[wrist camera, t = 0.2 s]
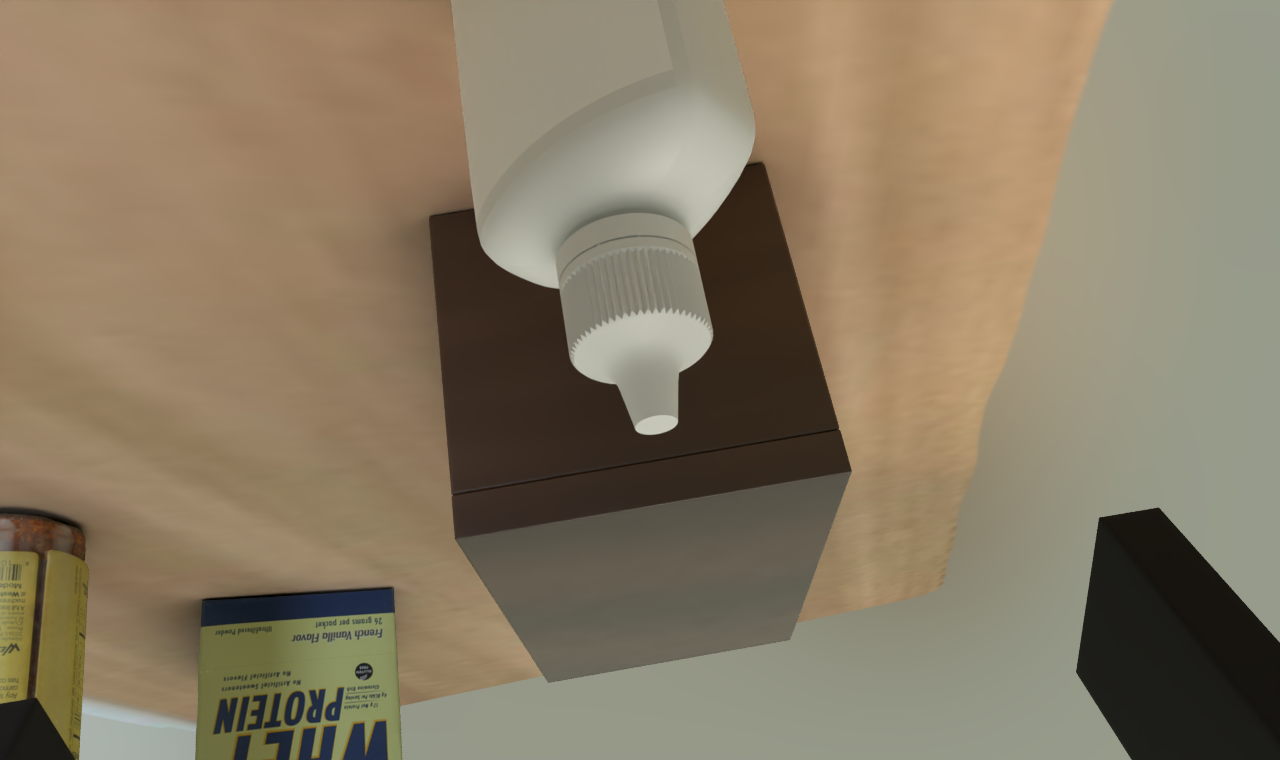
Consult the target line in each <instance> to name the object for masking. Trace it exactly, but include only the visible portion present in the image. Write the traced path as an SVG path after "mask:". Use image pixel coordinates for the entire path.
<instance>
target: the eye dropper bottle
mask: <svg viewBox="0 0 1280 760" xmlns="http://www.w3.org/2000/svg"><path fill="white" fill-rule="evenodd" d="M451 8H452V17H453V27H454V36H455V46H456V55H457V64H458V74H459V83H460V92H461V102H462V110H463V119H464V128H465V137H466V146H467V155H468V164H469V173H470V181H471V190H472V197H473V204H474V211H475V218H476V225H477V232H478V236H479V240H480V243H481V246H482V248H483V250H484V252H485V253H486V254H487V255H488V256H489V257H490V258H491V259H492V260H493V261H494V262H495V263H496V264H497V265H499V266H500V267H502V268H503V269H505V270H507V271H508V272H510V273H512V274H514V275H516V276H518V277H521V278H523V279H525V280H528V281H530V282H533V283H536V284H539V285H542V286H545V287H550V288H557V289H560V296H561V303H562V309H563V316H564V323H565V330H566V336H567V343H568V350H569V356H570V360H571V362H572V364H573V366H574V367H575V368H576V369H577V370H578V371H579V372H581V373H582V374H584V375H585V376H587V377H589V378H591V379H593V380H596V381H599V382H603V383H609V384H617V386H618V388H619V390H620V392H621V395H622V397H623V400H624V402H625V405H626V407H627V410H628V412H629V415H630V417H631V420H632V422H633V425H634V427H635V430H636V431H637V432H638V433H641V434H645V435H654V434H660V433H664V432H667V431H669V430H671V429H673V428H674V427H675V426H676V425H677V424H678V379H679V372H681V371H683V370H685V369H687V368H688V367H690V366H692V365H693V364H694V363H696V362H697V361H698V360H699V359H700V358H701V357H702V356H703V355H704V354H705V353H706V351H707V350H708V348H709V346H710V345H711V342H712V340H713V328H712V324H711V319H710V315H709V311H708V306H707V302H706V298H705V293H704V289H703V284H702V280H701V276H700V271H699V267H698V262H697V258H696V253H695V249H694V245H693V240H692V239H693V238H694V237H695V236H696V235H697V233H698V232H699V231H700V230H701V229H702V228H703V227H704V226H705V224H706V223H707V222H708V221H709V220H710V219H711V217H712V216H713V215H714V214H715V212H716V211H717V210H718V208H719V207H720V206H721V204H722V203H723V201H724V200H725V199H726V197H727V196H728V194H729V193H730V191H731V190H732V188H733V186H734V185H735V183H736V182H737V180H738V179H739V177H740V175H741V173H742V171H743V169H744V167H745V165H746V163H747V162H748V160H749V158H750V155H751V152H752V149H753V144H754V139H755V133H756V129H755V120H754V113H753V109H752V105H751V101H750V97H749V93H748V89H747V85H746V81H745V77H744V73H743V70H742V66H741V62H740V59H739V55H738V51H737V48H736V44H735V41H734V37H733V33H732V30H731V26H730V23H729V19H728V15H727V12H726V8H725V5H724V1H723V0H451Z"/></svg>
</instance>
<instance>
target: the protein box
mask: <svg viewBox="0 0 1280 760" xmlns="http://www.w3.org/2000/svg"><path fill="white" fill-rule="evenodd" d="M195 760H402V745H401V722H400V700H399V680H398V660H397V642H396V624H395V606H394V589H386V590H371V591H356V592H340V593H325V594H309V595H292V596H275V597H258V598H240V599H222V600H206V601H202V614H201V630H200V648H199V671H198V713H197V729H196V757H195Z"/></svg>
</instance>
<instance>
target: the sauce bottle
mask: <svg viewBox="0 0 1280 760" xmlns="http://www.w3.org/2000/svg"><path fill="white" fill-rule="evenodd" d="M85 551H86V548H85V538H84V535H83V534H82V532H81V531H80V529H78V528H75V527H72V526H69V525H65V524H63V523H60V522H57V521H54V520H52V519H49V518H47V517H43V516H38V515H25V514H10V513H5V514H0V704H1V703H7V702H13V701H19V700H25V699H31V698H37V699H38V700H39V702H40V704H41V705H42V707H43V708H44V710H45V712H46V713H47V715H48V716H49V718H50V720H51V721H52V723H53V724H54V726H55V728H56V729H57V731H58V732H59V734H60V736H61V737H62V739H63V740H64V742H65V744H66V745H67V747H68V748H69V750H70V751H71V753H72V755H73V756H74V758H75V759H76V760H79V748H80V729H81V713H82V694H83V675H84V655H85V634H86V616H87V598H88V579H89V569H88V566H87V564H86V563H85V562H84V560H85Z"/></svg>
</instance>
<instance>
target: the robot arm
mask: <svg viewBox="0 0 1280 760" xmlns="http://www.w3.org/2000/svg"><path fill="white" fill-rule="evenodd" d="M1076 673H1077V674H1078V676H1079V678H1080V679H1081V681H1082V682H1083V684H1084V685H1085V687H1086V689H1087V690H1088V692H1089V693H1090V695H1091V696H1092V698H1093V700H1094V701H1095V703H1096V704H1097V706H1098V707H1099V709H1100V711H1101V712H1102V714H1103V715H1104V717H1105V718H1106V720H1107V722H1108V723H1109V725H1110V726H1111V728H1112V729H1113V731H1114V733H1115V734H1116V736H1117V737H1118V739H1119V740H1120V742H1121V744H1122V745H1123V747H1124V748H1125V750H1126V751H1127V753H1128V755H1129V756H1130V758H1131V759H1132V760H1280V642H1279V641H1278V640H1277V639H1276V638H1275V637H1274V636H1273V635H1272V634H1271V633H1270V631H1269V630H1268V629H1267V628H1266V627H1265V626H1264V625H1263V623H1262V622H1261V621H1260V620H1259V619H1258V618H1257V617H1256V616H1255V615H1254V613H1253V612H1252V611H1251V610H1250V609H1249V608H1248V607H1247V606H1246V604H1245V603H1244V602H1243V601H1242V600H1241V599H1240V598H1239V597H1238V595H1237V594H1236V593H1235V592H1234V591H1233V590H1232V589H1231V588H1230V587H1229V585H1228V584H1227V583H1226V582H1225V581H1224V580H1223V579H1222V578H1221V577H1220V575H1219V574H1218V573H1217V572H1216V571H1215V570H1214V569H1213V568H1212V566H1211V565H1210V564H1209V563H1208V562H1207V561H1206V560H1205V559H1204V557H1203V556H1202V555H1201V554H1200V553H1199V552H1198V551H1197V550H1196V549H1195V547H1193V545H1192V544H1191V543H1190V542H1189V541H1188V540H1187V538H1186V537H1185V536H1184V535H1183V534H1182V533H1181V532H1180V531H1179V530H1178V528H1177V527H1176V526H1175V525H1174V524H1173V523H1172V522H1171V521H1170V520H1169V519H1168V517H1167V516H1166V515H1165V514H1164V513H1163V512H1162V511H1161V509H1160V508H1153V509H1148V510H1142V511H1136V512H1130V513H1124V514H1118V515H1112V516H1106V517H1100V518H1099V522H1098V529H1097V536H1096V543H1095V549H1094V556H1093V562H1092V569H1091V576H1090V583H1089V590H1088V596H1087V603H1086V609H1085V616H1084V623H1083V630H1082V636H1081V643H1080V650H1079V657H1078V663H1077V670H1076ZM0 760H76V759H75V758H74V756H73V755H72V753H71V751H70V750H69V748H68V747H67V745H66V744H65V742H64V740H63V739H62V737H61V736H60V734H59V732H58V731H57V729H56V728H55V726H54V724H53V723H52V721H51V720H50V718H49V716H48V715H47V713H46V712H45V710H44V708H43V707H42V705H41V704H40V702H39V700H38V699H37V698H31V699H25V700H19V701H13V702H7V703H1V704H0Z"/></svg>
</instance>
